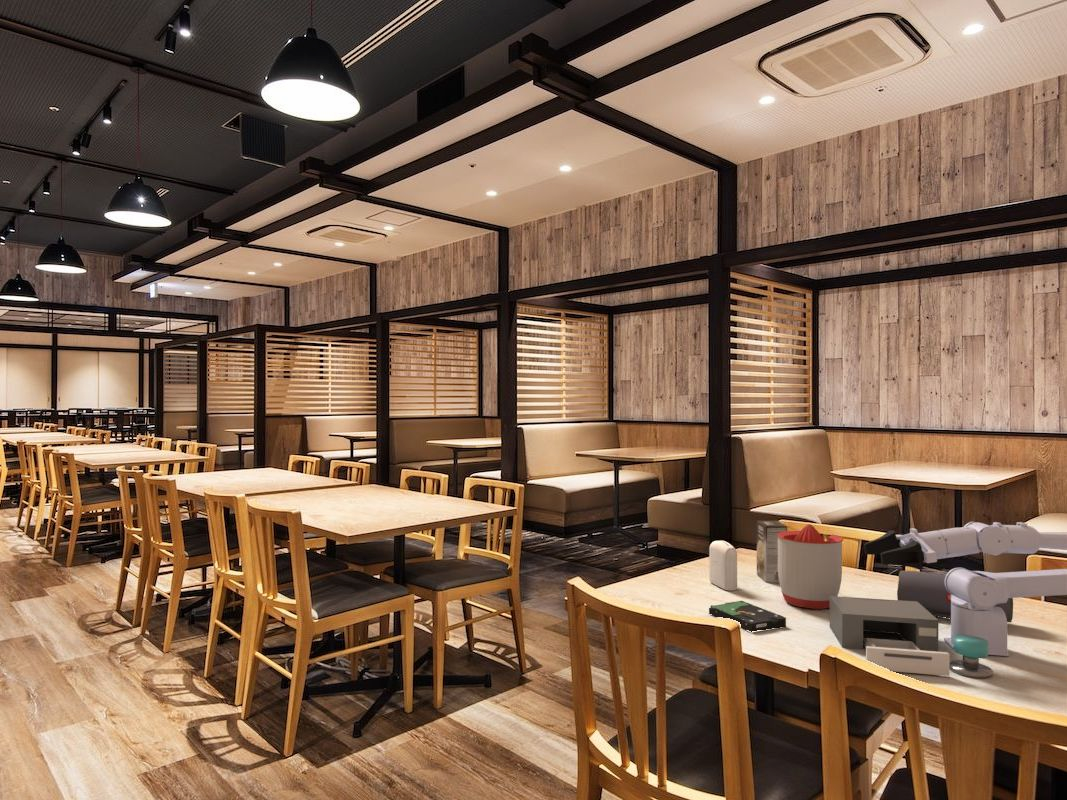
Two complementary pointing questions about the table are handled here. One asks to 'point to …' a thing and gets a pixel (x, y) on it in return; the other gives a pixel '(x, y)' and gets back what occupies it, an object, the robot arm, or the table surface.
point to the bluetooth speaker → (934, 593)
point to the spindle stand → (970, 668)
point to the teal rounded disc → (971, 646)
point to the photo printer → (723, 565)
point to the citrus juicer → (809, 567)
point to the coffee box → (768, 549)
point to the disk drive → (748, 615)
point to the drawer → (905, 657)
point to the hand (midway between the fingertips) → (872, 553)
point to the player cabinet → (882, 621)
